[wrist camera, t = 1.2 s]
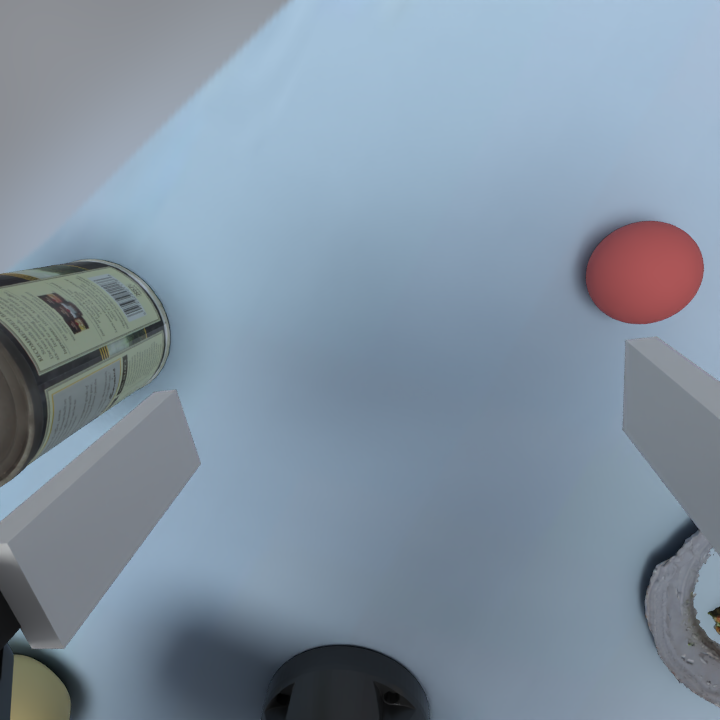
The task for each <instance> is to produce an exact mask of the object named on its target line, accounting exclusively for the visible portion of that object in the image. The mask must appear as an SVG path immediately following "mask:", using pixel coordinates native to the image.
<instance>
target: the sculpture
mask: <svg viewBox="0 0 720 720" xmlns="http://www.w3.org/2000/svg"><path fill="white" fill-rule="evenodd" d="M13 656H14V666H13V682H12V697H11V713H10V720H69V719H70V712H71V701H70V696H69V693H68V691H67V689H66V687H65V685H64V684H63V683H62V681H61V680H60V679H59V678H58V677H57V676H56V675H55V674H54V673H53V672H52V671H51V670H50V669H49V668H48V667H46V666H45V665H44V664H42V663H41V662H39V661H37V660H35V659H33V658H31V657H28V656H24V655H13Z"/></svg>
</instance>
